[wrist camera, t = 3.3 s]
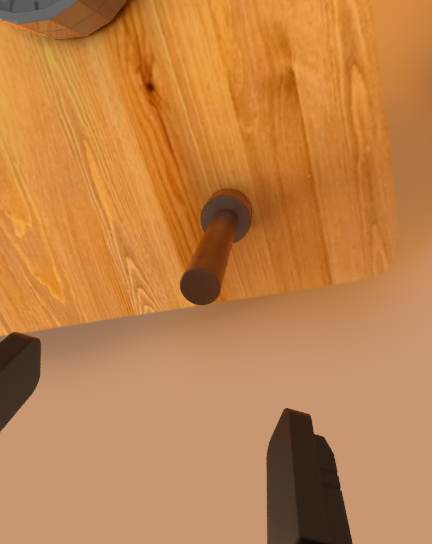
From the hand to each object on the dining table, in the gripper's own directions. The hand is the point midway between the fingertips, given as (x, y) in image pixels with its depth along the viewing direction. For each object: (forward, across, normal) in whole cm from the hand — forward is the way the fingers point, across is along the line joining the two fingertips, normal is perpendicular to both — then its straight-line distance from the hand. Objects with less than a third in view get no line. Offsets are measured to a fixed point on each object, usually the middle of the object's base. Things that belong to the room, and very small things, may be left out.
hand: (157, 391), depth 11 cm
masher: (+24, 0, 0) cm, 24 cm away
